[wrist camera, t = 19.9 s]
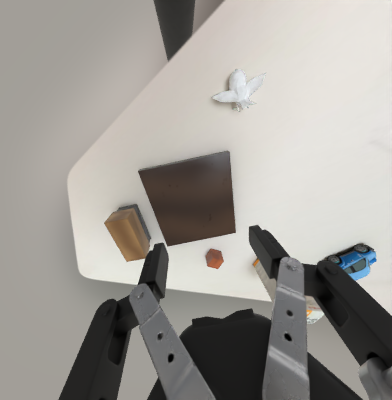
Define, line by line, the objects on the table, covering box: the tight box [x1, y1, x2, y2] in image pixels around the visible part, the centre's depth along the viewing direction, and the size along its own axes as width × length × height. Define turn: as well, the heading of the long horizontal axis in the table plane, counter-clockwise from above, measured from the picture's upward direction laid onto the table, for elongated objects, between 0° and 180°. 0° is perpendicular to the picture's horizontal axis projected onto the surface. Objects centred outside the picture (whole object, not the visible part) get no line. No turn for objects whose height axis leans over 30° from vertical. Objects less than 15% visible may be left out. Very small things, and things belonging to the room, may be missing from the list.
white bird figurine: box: [212, 69, 266, 112], centre depth 19 cm, size 8×5×5 cm, turn 111°
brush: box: [104, 205, 151, 262], centre depth 28 cm, size 4×10×6 cm, turn 10°
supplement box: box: [253, 259, 325, 324], centre depth 33 cm, size 8×5×13 cm, turn 70°
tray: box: [138, 151, 236, 246], centre depth 28 cm, size 18×16×1 cm
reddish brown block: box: [206, 249, 224, 269], centre depth 35 cm, size 3×3×3 cm
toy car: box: [328, 245, 376, 280], centre depth 38 cm, size 6×12×6 cm, turn 122°
